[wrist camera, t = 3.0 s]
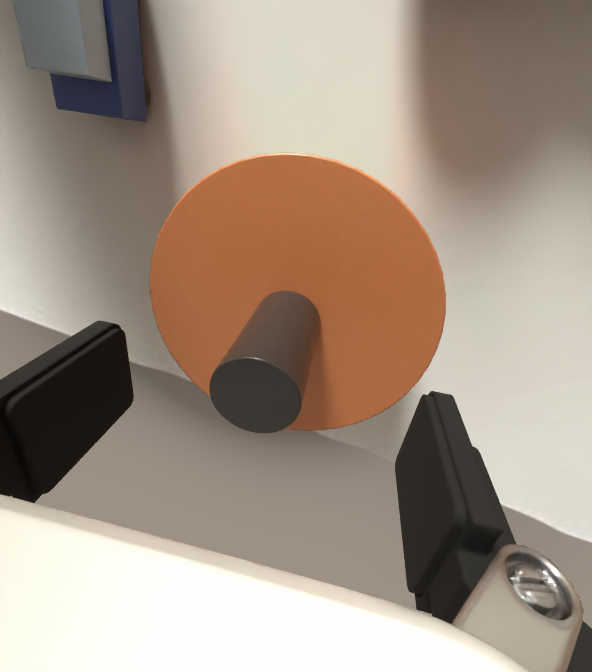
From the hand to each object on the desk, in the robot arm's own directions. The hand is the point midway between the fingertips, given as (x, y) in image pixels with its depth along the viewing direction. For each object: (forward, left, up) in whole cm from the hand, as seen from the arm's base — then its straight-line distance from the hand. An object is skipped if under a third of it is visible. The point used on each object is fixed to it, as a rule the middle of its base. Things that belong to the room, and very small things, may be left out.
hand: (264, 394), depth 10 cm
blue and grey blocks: (-12, +10, -13) cm, 20 cm away
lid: (0, 0, -5) cm, 5 cm away
